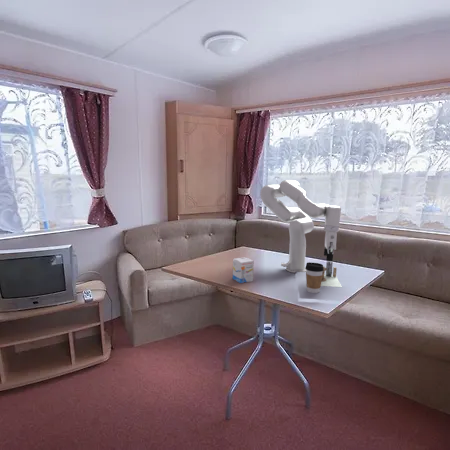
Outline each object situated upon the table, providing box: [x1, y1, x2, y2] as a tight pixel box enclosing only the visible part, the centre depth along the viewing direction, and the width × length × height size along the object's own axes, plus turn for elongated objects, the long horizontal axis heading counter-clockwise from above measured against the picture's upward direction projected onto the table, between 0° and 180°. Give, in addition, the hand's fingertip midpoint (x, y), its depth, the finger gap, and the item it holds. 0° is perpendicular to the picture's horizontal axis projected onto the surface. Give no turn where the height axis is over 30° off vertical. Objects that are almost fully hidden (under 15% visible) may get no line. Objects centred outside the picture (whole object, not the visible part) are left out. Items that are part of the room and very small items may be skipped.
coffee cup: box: [305, 261, 324, 294], centre depth 150 cm, size 8×8×15 cm
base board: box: [321, 274, 343, 288], centre depth 166 cm, size 12×19×2 cm, turn 170°
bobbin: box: [321, 266, 327, 282], centre depth 166 cm, size 6×6×6 cm
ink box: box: [232, 256, 254, 284], centre depth 169 cm, size 9×8×12 cm
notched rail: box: [324, 266, 338, 277], centre depth 173 cm, size 11×2×5 cm, turn 80°
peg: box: [325, 260, 334, 277], centre depth 173 cm, size 3×3×8 cm
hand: (328, 258), depth 173 cm, fingers open, 9 cm apart
